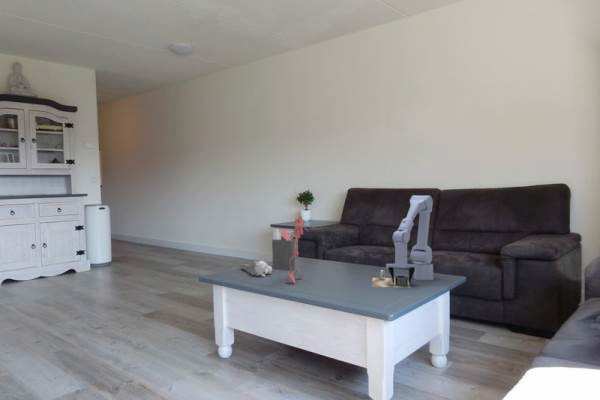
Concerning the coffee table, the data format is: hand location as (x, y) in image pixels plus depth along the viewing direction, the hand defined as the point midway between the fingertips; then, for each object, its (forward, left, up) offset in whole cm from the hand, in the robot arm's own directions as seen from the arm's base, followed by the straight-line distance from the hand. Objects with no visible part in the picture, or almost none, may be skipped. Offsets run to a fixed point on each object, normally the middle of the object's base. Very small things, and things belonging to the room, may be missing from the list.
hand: (401, 283), depth 207 cm
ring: (0, 0, -1) cm, 1 cm away
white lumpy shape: (+74, -21, -2) cm, 77 cm away
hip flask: (+67, -40, -2) cm, 78 cm away
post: (+9, -10, -2) cm, 14 cm away
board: (+5, -5, -2) cm, 7 cm away
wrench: (+85, -28, -2) cm, 90 cm away
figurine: (+51, -7, -2) cm, 52 cm away
